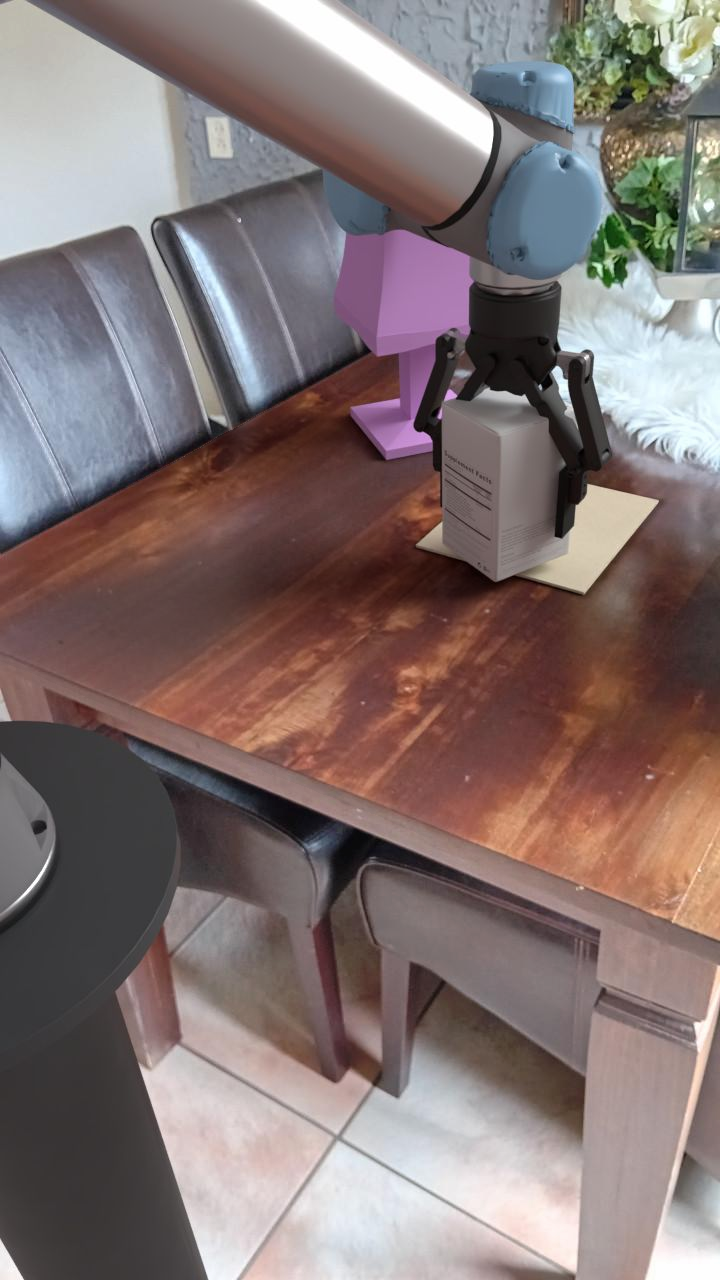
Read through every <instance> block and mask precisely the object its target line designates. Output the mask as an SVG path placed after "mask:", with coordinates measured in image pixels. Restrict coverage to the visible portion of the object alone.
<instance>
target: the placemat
mask: <svg viewBox="0 0 720 1280" xmlns="http://www.w3.org/2000/svg"><path fill="white" fill-rule="evenodd" d="M659 502H660V500H659V499H655V498H651V497H646V496H642V495H638V494H633V493H629V492H625V491H620V490H616V489H611V488H606V487H602V486H598V485H595V484H590V483H588V484H587V494H586V496H585V498H584V499H583V500H582V501H581V502H580V503H579V504H578V505H576V509H575V521H574V526H573V527H572V528H571V530H570V540H569V552H568V554H566V555H563V556H561V557H558V558H556V559H553V560H551V561H548V562H546V563H543V564H541V565H538V566H535V567H533V568H530V569H528V570H525V571H523V572H520V573H518V574H515V575H514V576H516V577H519V578H523V579H525V580H530V581H534V582H536V583H541V584H544V585H547V586H551V587H554V588H559V589H561V590H565V591H567V592H568V591H569V592H573V593H576V594H579V595H582V596H584V595H585V594H586V593H587V592H588V590H589V589H591V587H592V585H593V584H594V583H595V582H596V580H597V579H598V578H599V577H600V576H601V575H602V573H603V572H604V571H605V570H606V568H607V567H608V566H609V565H610V563H611V562H612V561H613V560H614V559H615V557H616V556H617V555H618V553H619V552H620V551H621V550H622V548H623V547H624V546H625V545H626V544H627V542H628V541H629V540H630V538H631V537H632V536H633V535H634V534H635V532H636V531H637V530H638V529H639V528H640V526H641V525H642V524H643V522H644V521H645V520H646V519H647V518H648V516H649V515H650V514H651V513H652V511H653V510H654V509H655V508H656V506H657V505H658V504H659ZM415 548H417V549H421V550H425V551H428V552H431V553H435V554H439V555H441V556H442V555H443V556H446V557H449V558H453V559H456V560H460V561H463V562H467V561H465V560H464V559H463V558H461V557H460V556H459V555H457V554H456V553H455V552H453V551H452V550H450V549H449V548H448V547H446V546H445V545H444V544H443V543H442V521H440V523H438V524H437V525H436V526H435V527H434V528H432V530H430V531H429V532H428V533H427V534H426V535H425V536H424V537H423V538H422V539H421V540H419V541H418V542H417V543H416V544H415ZM467 563H468V562H467Z"/></svg>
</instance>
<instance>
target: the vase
mask: <svg viewBox="0 0 720 1280" xmlns="http://www.w3.org/2000/svg"><path fill="white" fill-rule="evenodd" d="M469 259H470V256H468V255H466V254H464V253H462V252H459V251H457V250H455V249H453V248H449V247H446V246H443V245H441V244H438V243H436V242H433V241H431V240H428V239H426V238H423V237H421V236H418V235H416V234H413V233H411V232H408V231H406V230H393V231H389V232H386V233H385V234H384V235H381V236H380V235H378V234H369V235H360V236H355V235H351V234H349V233H347V232H345V241H344V249H343V256H342V261H341V265H340V271H339V274H338V278H337V283H336V286H335V289H334V295H333V305H334V306H333V307H334V315H335V316H336V317H338V318H339V319H340V320H341V322H343V323H345V324H346V325H348V326H349V327H350V328H351V329H352V330H353V331H354V332H355V333H356V334H357V335H358V336H359V337H360V338H361V340H362V341H363V343H364V344H365V345H366V347H367V348H368V349H369V350H370V351H371V352H372V353H373V354H374V355H375V356H376V357H384V356H389V355H390V356H391V355H395V354H398V376H399V377H398V378H399V398H394V399H389V400H382V401H378V402H372V403H366V404H360V405H355V406H350V417H351V418H352V419H353V421H354V422H355V424H357V425H358V427H360V429H361V430H362V432H363V433H364V434H365V436H367V438H368V440H369V441H371V443H372V444H373V445H374V446H375V448H376V449H377V450H378V451H379V452H380V454H381V455H382V457H383V458H384V459H385V460H386V461H389V460H394V459H399V458H405V457H409V456H414V455H420V454H425V453H429V452H433V442H432V440H431V438H430V436H429V435H428V434H426V433H424V432H417V431H416V430H415V429H414V427H413V423H414V420H415V417H416V415H417V412H418V409H419V406H420V403H421V400H422V397H423V395H424V392H425V389H426V386H427V383H428V380H429V377H430V375H431V372H432V369H433V366H434V363H435V342H436V339H437V337H439V336H440V335H442V334H443V333H445V332H446V331H448V330H450V329H451V328H457V329H458V330H459V331H460V334H465V335H469V333H470V326H469V287H470V286H471V285H472V283H473V282H474V281H473V280H472V279H471V278H470V276H469ZM457 396H458V394H456V393H455V392H454V391H453V390H452V389H450V388H448V391H447V394H446V396H445V399H444V401H446V400H450V399H453V398H456V397H457ZM438 418H439V419H441V418H442V407H441V410H440V413H439V415H438Z"/></svg>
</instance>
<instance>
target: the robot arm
mask: <svg viewBox="0 0 720 1280" xmlns="http://www.w3.org/2000/svg"><path fill="white" fill-rule="evenodd" d="M12 1H13V0H0V5H3V4H5V3H9V2H12ZM25 2H28V3H29V4H31V5H33V6H34V7H36V8H38V9H40V10H42V11H43V12H45V13H46V14H48V15H50V16H51V17H54V18H55V19H57V20H59V21H61V22H62V23H64V24H66V25H68V26H69V27H71V28H73V29H75V30H77V31H78V32H80V33H82V34H83V35H85V36H87V37H89V38H90V39H92V40H94V41H96V42H97V43H99V44H101V45H102V46H105V47H106V48H108V49H110V50H111V51H113V52H115V53H117V54H119V55H120V56H122V57H124V58H126V59H127V60H129V61H131V62H133V63H135V64H136V65H138V66H139V67H142V68H143V69H145V70H146V71H148V72H150V73H152V74H154V75H156V76H157V77H159V78H161V79H163V80H164V81H166V82H168V83H169V84H172V85H173V86H175V87H177V88H179V89H180V90H182V91H184V92H186V94H189V95H191V96H192V97H194V98H196V99H198V100H199V101H201V102H203V103H205V104H207V105H209V106H210V107H212V108H214V109H216V110H217V111H219V112H220V113H222V114H223V115H226V116H228V117H230V118H231V119H233V120H235V121H236V122H238V123H240V124H241V125H244V126H245V127H247V128H249V129H251V130H252V131H254V132H256V133H258V134H259V135H261V136H263V137H264V138H266V139H268V140H270V141H272V142H274V143H275V144H277V145H279V146H280V147H282V148H284V149H286V150H287V151H289V152H291V153H293V154H294V155H296V156H298V157H300V158H301V159H303V160H305V161H307V162H308V163H310V164H312V165H314V166H315V167H318V168H319V169H321V170H322V185H323V190H324V195H325V199H326V202H327V205H328V208H329V211H330V213H331V215H332V217H333V219H334V220H335V222H336V223H337V226H339V227H340V228H341V230H343V231H344V232H345V233H346V232H347V233H349V234H351V235H355V236H360V235H369V234H378V235H380V236H381V235H384V234H385V233H386V232H389V231H393V230H406V231H408V232H411V233H413V234H416V235H418V236H421V237H423V238H426V239H428V240H431V241H433V242H436V243H438V244H441V245H443V246H446V247H449V248H453V249H455V250H457V251H459V252H462V253H464V254H466V255H468V256H470V259H469V276H470V278H471V279H472V280H473V281H474V282H473V283H472V285H471V286H470V287H469V326H470V333H469V335H465V334H460V331H459V330H458V329H457V328H451V329H450V330H448V331H446V332H445V333H443V334H442V335H440V336H439V337H437V339H436V342H435V363H434V366H433V369H432V372H431V375H430V377H429V380H428V383H427V386H426V389H425V392H424V395H423V397H422V400H421V403H420V406H419V409H418V412H417V415H416V417H415V420H414V423H413V427H414V429H415V430H416V431H417V432H424V433H426V434H428V435H429V436H430V438H431V440H432V442H433V451H432V467H433V470H434V472H439V507H440V508H442V418H441V419H439V418H438V415H439V413H440V410H441V407H442V401H444V399H445V396H446V394H447V391H448V390H449V389H450V386H451V383H452V380H453V377H454V374H455V371H456V369H457V367H458V364H459V360H460V358H461V357H462V356H463V355H464V354H465V352H466V355H467V356H468V358H469V360H470V361H471V363H472V365H473V366H474V368H475V369H474V370H473V372H472V373H471V375H470V376H469V377H468V379H467V380H466V382H465V383H464V385H463V388H462V389H461V391H460V392H459V393H458V394H457V397H456V400H464V401H471V400H472V399H474V398H475V397H476V396H478V395H479V394H480V393H482V392H483V391H484V389H487V388H490V390H492V391H497V392H499V391H507V392H509V393H511V394H513V395H517V396H523V395H524V394H525V396H526V397H527V399H528V401H529V403H530V405H531V406H532V407H535V408H536V409H537V411H538V413H539V415H540V416H542V417H546V418H548V420H549V434H550V436H551V437H552V439H553V441H554V443H555V445H556V447H557V449H558V451H559V452H560V454H561V456H562V458H563V460H564V462H565V464H566V466H565V467H564V468H563V469H562V470H561V471H560V472H559V481H558V495H557V508H556V522H555V535H554V537H557V538H561V539H562V538H563V537H564V536H565V535H566V534H567V533H568V532H569V531H570V530H571V528H572V527H573V526H574V521H575V509H576V505H578V504H579V503H580V502H581V501H582V500H583V499H584V498H585V496H586V494H587V484H589V475H590V471H592V472H595V473H597V472H599V471H601V469H603V468H604V467H605V465H606V464H607V463H609V461H610V460H612V458H613V452H612V447H611V443H610V439H609V435H608V431H607V428H606V425H605V420H604V415H603V413H602V408H601V405H600V400H599V397H598V393H597V388H596V385H595V381H594V377H593V375H594V367H595V366H594V365H595V364H594V363H595V354H594V352H593V351H592V350H591V349H588V348H587V349H583V350H582V351H580V352H573V351H567V350H562V348H561V345H560V343H559V339H558V334H559V330H560V329H559V327H560V318H561V304H562V303H561V302H562V288H563V287H562V285H561V283H560V282H559V281H558V280H559V279H561V277H562V275H563V274H564V273H565V272H566V271H568V270H570V269H572V267H573V266H574V265H575V264H576V263H577V262H579V260H580V259H581V258H582V257H583V256H584V254H585V252H586V251H587V249H588V247H589V245H590V244H591V243H592V240H593V238H594V236H595V235H596V231H597V229H598V227H599V223H600V220H601V213H602V201H603V200H602V188H601V184H600V180H599V177H598V176H597V173H596V171H595V169H594V167H593V166H592V164H591V163H590V162H589V161H588V160H587V158H585V157H584V156H582V155H581V154H579V153H578V152H575V151H573V139H574V134H575V125H574V122H575V120H574V119H575V90H574V89H575V86H574V85H575V84H574V78H573V75H572V73H571V71H570V70H569V68H567V67H566V66H565V65H563V64H560V63H557V62H551V61H539V60H535V61H534V60H525V61H523V60H522V61H509V62H497V63H492V64H489V65H484V66H482V67H480V68H478V69H477V70H476V71H475V72H474V74H473V76H472V82H471V90H470V93H468V92H467V91H465V90H464V89H463V88H461V87H460V86H458V85H457V84H455V83H454V82H453V81H451V80H450V79H448V78H447V77H445V75H443V74H442V73H440V72H438V71H437V70H436V69H434V68H433V67H431V66H430V65H429V64H428V63H426V62H425V61H424V60H422V59H421V58H420V57H418V56H416V55H415V54H414V53H412V52H411V51H409V50H408V49H407V48H405V47H404V46H403V45H401V44H400V43H398V42H397V41H395V40H394V39H393V38H391V37H390V36H389V35H387V34H385V33H384V32H383V31H381V29H379V28H378V27H376V26H374V25H373V24H372V23H371V22H369V21H368V20H366V19H365V18H364V17H362V16H361V15H360V14H358V13H357V12H355V11H354V10H353V9H351V8H350V7H348V6H346V5H345V4H344V3H342V1H340V0H25ZM556 367H559V369H560V370H561V372H562V379H563V380H565V381H567V390H568V395H569V399H570V404H571V405H572V407H573V410H574V414H575V418H576V422H577V425H578V428H577V426H576V424H575V422H574V421H573V419H572V418H570V417H568V416H566V415H565V411H566V410H567V407H566V405H565V403H564V401H565V400H564V399H563V398H562V396H561V394H560V387H559V383H558V382H557V380H556V378H555V376H554V374H553V370H554V369H556ZM540 387H541V390H540ZM59 854H60V840H59V834H58V831H57V828H56V825H55V822H54V819H53V816H52V813H51V811H50V809H49V807H48V805H47V804H46V802H45V801H44V800H43V798H42V797H41V796H40V794H39V793H38V792H37V791H36V790H35V789H34V788H33V787H32V786H31V785H30V784H29V783H28V782H27V781H26V780H25V778H24V777H23V776H22V775H21V774H20V773H19V772H18V771H17V770H16V769H15V768H14V767H13V766H12V765H11V764H10V763H9V762H8V760H7V759H6V758H5V757H4V756H3V755H2V754H1V752H0V934H2V933H3V932H5V931H6V930H8V929H9V928H10V927H12V926H13V925H14V924H15V923H17V922H18V921H19V920H20V919H21V918H22V917H23V916H24V915H25V914H26V913H27V912H28V911H29V910H30V909H31V908H32V907H33V906H34V905H35V904H36V903H37V902H38V900H39V899H40V898H41V896H42V895H43V894H44V892H45V891H46V889H47V887H48V886H49V884H50V882H51V880H52V878H53V876H54V873H55V871H56V868H57V865H58V860H59Z"/></svg>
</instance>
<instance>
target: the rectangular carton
mask: <svg viewBox="0 0 720 1280" xmlns="http://www.w3.org/2000/svg"><path fill="white" fill-rule="evenodd" d="M540 390H542V388H541V389H540ZM563 401H564V403H565V405H566V407H567V410H566V411H565V415H566V416H568V417H570V418H572V419H573V421H574V422H575V424H576V426H577V428H578V425H577V422H576V418H575V414H574V410H573V407H572V403H569V402H567V401H565V400H563ZM565 466H566V464H565V462H564V460H563V458H562V456H561V454H560V452H559V451H558V449H557V447H556V445H555V443H554V441H553V439H552V437H551V436H550V434H549V420H548V418H546V417H542V416H540V415H539V413H538V411H537V409H536V408H535V407H532V406H531V405H530V403H529V401H528V399H527V397H526V396H525V394H524V395H523V396H517V395H513V394H511V393H509V392H507V391H499V392H497V391H492V390H490V387H486V388H485V389H484V391H483V392H482V393H480V394H479V395H478V396H476V397H475V398H474V399H472V400H471V401H464V400H456V398H453V399H450V400H446V401H442V507H441V513H442V514H441V522H442V543H443V544H444V545H445V546H446V547H448V548H449V549H450V550H452V551H453V552H455V553H456V554H457V555H459V556H460V557H461V558H463V559H464V560H465V561H464V562H466V561H467V564H469V565H471V566H472V567H473V568H475V569H476V570H477V571H479V572H480V573H482V574H483V575H484V576H485V577H487V578H489V579H490V580H491V581H493V582H495V583H497V582H500V581H503V580H506V579H508V578H510V577H513V576H516V575H515V574H518V573H520V572H523V571H525V570H528V569H530V568H533V567H535V566H538V565H541V564H543V563H546V562H548V561H551V560H553V559H556V558H558V557H561V556H563V555H566V554H568V552H569V540H570V531H569V532H568V533H567V534H566V535H565V536H564V537H563V538H562V539H561V538H557V537H554V535H555V522H556V508H557V495H558V481H559V472H560V471H561V470H562V469H563V468H564V467H565Z"/></svg>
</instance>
